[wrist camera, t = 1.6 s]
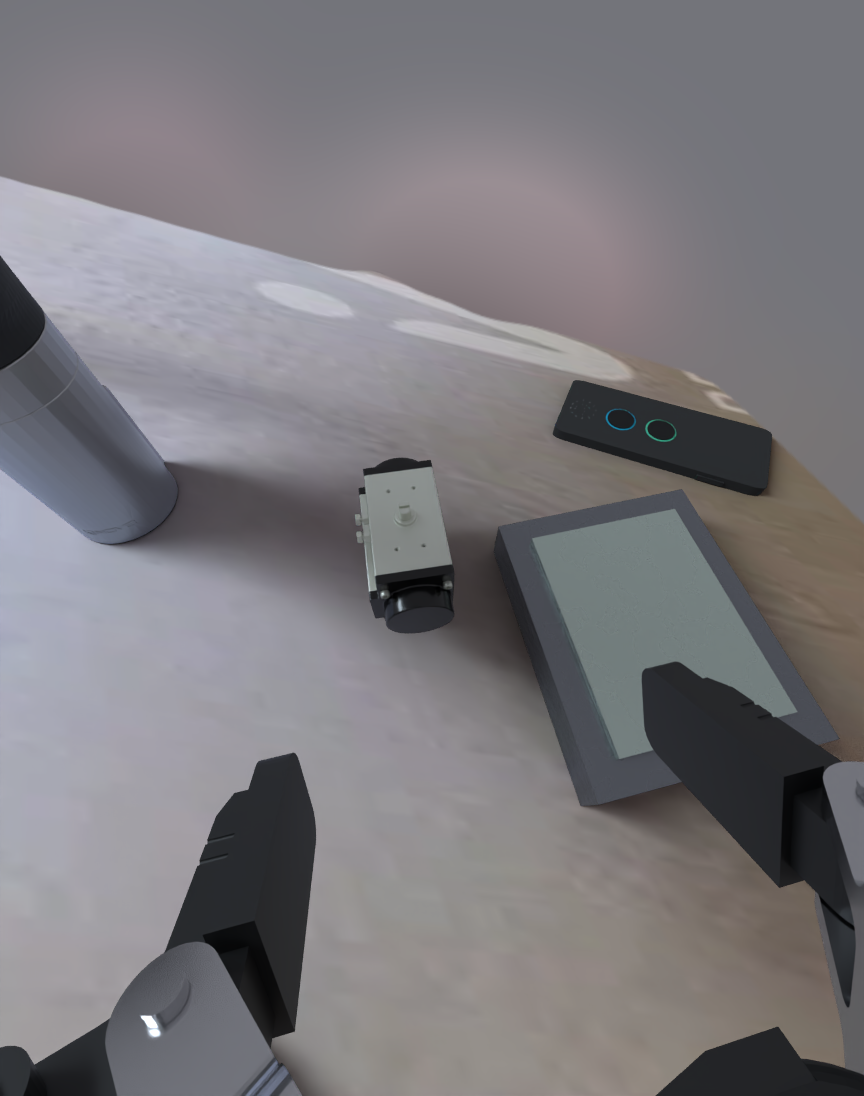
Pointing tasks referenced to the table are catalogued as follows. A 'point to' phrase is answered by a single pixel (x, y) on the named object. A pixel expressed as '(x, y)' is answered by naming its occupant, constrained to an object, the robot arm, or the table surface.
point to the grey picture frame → (637, 632)
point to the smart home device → (667, 437)
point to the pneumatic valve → (406, 546)
